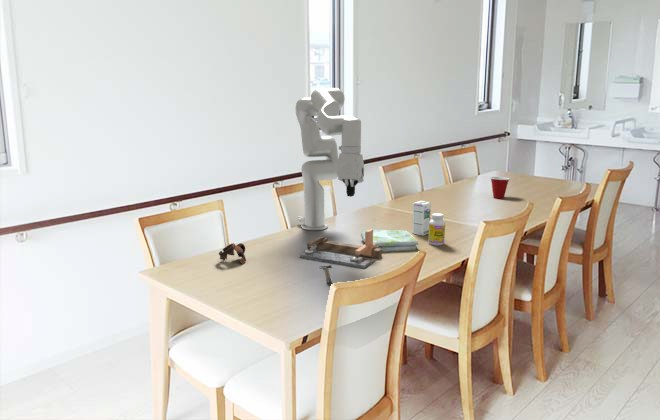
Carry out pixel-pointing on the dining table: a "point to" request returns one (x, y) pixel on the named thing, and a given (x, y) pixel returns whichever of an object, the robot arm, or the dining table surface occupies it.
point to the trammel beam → (340, 247)
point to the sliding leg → (366, 245)
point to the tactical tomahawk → (327, 274)
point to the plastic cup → (499, 186)
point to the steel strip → (336, 258)
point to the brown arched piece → (230, 251)
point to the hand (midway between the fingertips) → (350, 195)
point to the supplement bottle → (436, 229)
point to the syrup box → (421, 217)
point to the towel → (392, 240)
